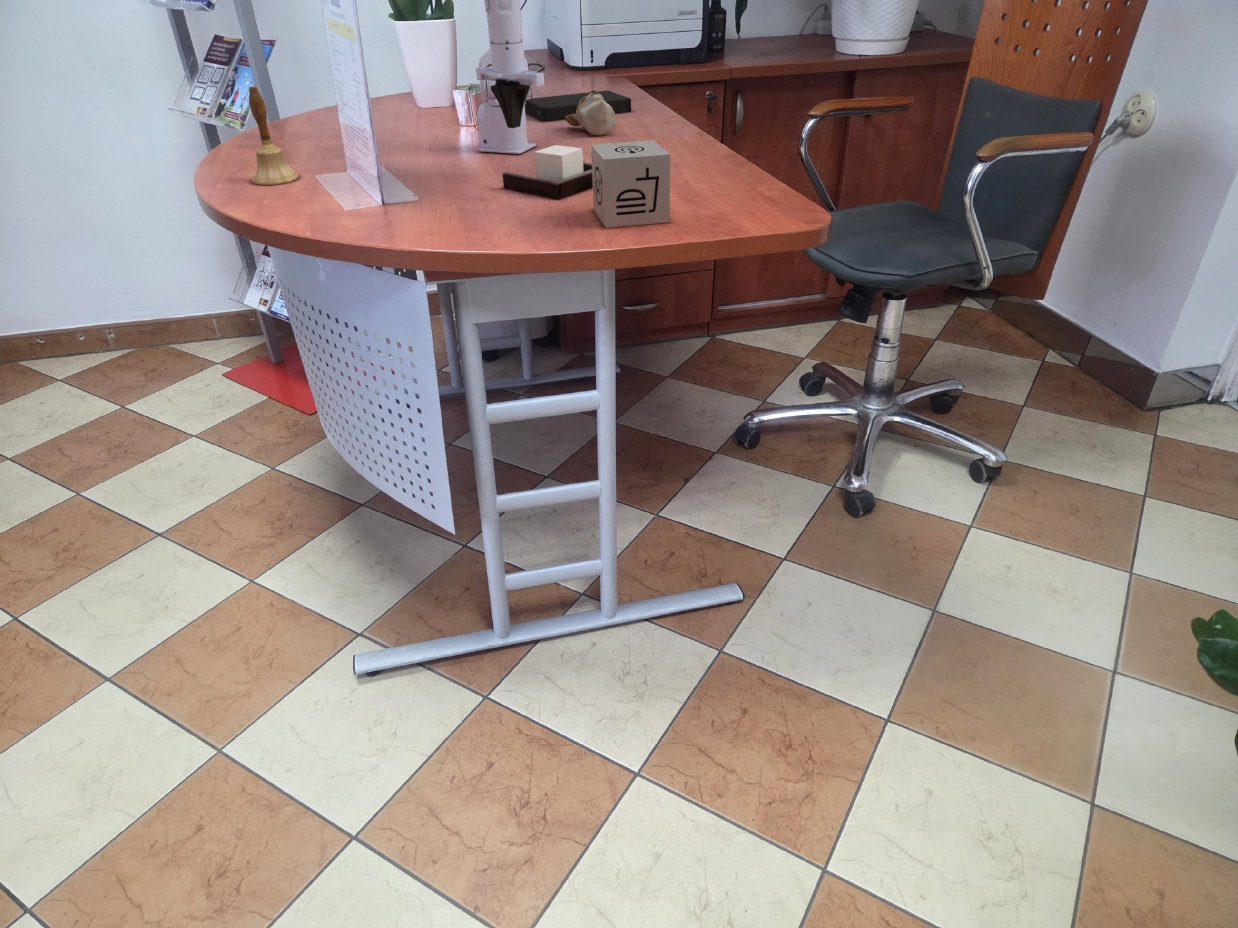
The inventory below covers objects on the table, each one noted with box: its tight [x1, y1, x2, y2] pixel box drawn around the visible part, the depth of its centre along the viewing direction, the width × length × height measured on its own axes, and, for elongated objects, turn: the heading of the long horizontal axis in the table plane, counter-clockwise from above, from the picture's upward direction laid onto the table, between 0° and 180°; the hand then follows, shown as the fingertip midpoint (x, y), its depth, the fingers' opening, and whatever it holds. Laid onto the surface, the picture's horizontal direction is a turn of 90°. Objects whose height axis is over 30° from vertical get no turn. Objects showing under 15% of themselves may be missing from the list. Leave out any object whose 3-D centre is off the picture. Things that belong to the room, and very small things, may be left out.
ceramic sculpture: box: [564, 90, 617, 137], centre depth 178 cm, size 11×9×15 cm
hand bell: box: [248, 85, 299, 186], centre depth 146 cm, size 8×8×16 cm
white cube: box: [534, 144, 584, 182], centre depth 141 cm, size 6×6×6 cm
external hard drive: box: [525, 90, 632, 123], centre depth 199 cm, size 14×23×3 cm, turn 115°
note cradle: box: [502, 162, 593, 200], centre depth 142 cm, size 13×14×3 cm
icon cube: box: [590, 139, 671, 229], centre depth 124 cm, size 10×10×10 cm
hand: (513, 127), depth 144 cm, fingers closed
